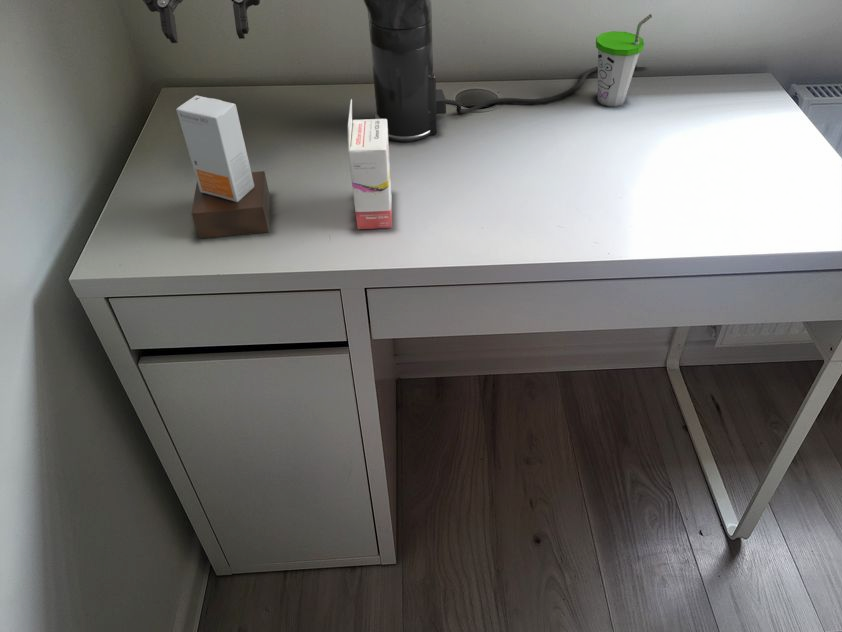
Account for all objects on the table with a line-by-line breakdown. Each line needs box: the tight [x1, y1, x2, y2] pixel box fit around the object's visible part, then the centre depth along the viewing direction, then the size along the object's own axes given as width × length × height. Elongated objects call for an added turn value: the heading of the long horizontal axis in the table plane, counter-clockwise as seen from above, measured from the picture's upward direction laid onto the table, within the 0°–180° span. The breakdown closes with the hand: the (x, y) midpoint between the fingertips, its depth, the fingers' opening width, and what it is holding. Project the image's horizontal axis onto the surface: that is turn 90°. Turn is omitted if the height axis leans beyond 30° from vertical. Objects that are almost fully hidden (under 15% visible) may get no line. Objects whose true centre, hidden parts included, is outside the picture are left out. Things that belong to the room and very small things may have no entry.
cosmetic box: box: [175, 94, 254, 202], centre depth 90 cm, size 6×4×12 cm
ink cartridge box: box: [347, 98, 393, 230], centre depth 93 cm, size 9×5×15 cm, turn 5°
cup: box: [595, 13, 653, 108], centre depth 117 cm, size 8×8×15 cm
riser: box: [191, 170, 271, 239], centre depth 96 cm, size 9×9×4 cm
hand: (207, 38), depth 92 cm, fingers open, 8 cm apart
